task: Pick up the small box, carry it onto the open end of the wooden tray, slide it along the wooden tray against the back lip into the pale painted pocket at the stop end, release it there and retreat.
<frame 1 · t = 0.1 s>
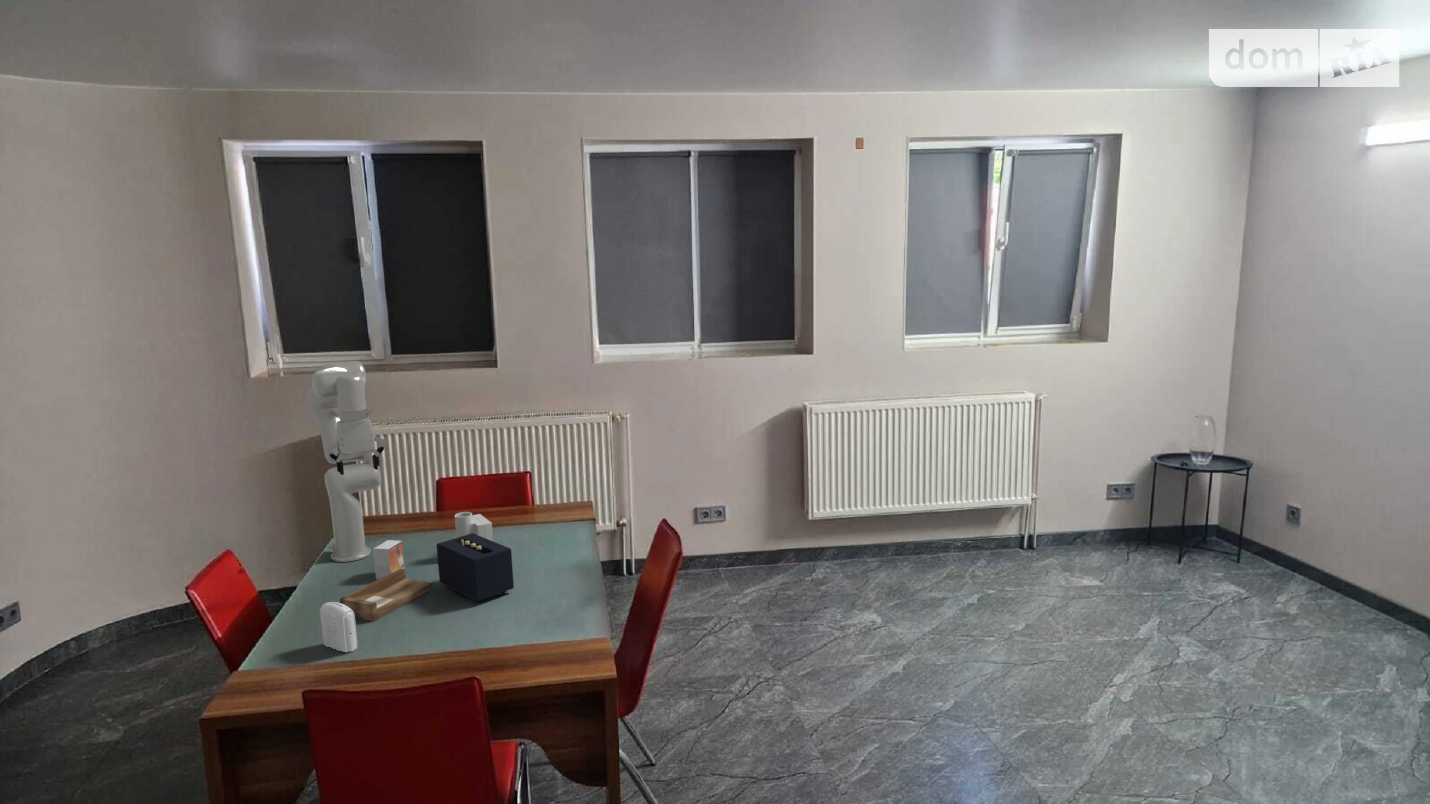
hand: (359, 471, 250), 37 cm above the table, tool pointing down, fingers open, 9 cm apart
wooden tray: (388, 601, 246), on the table
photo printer: (340, 648, 218), on the table
speaker: (476, 590, 253), on the table
small box: (390, 576, 266), on the table
white desk organizer: (468, 557, 281), on the table
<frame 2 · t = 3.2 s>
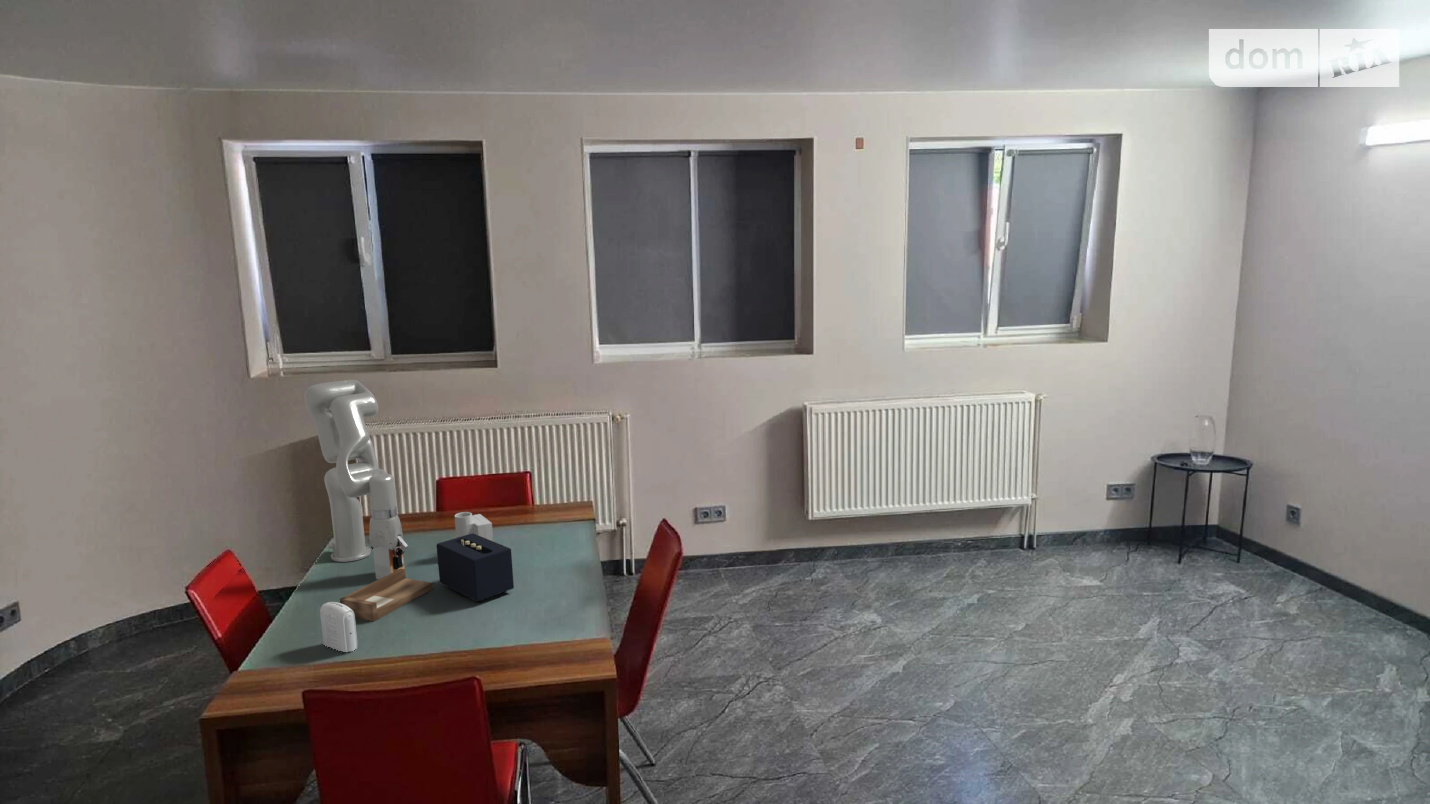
hand: (389, 566, 265), 3 cm above the table, tool pointing down, fingers closed on small box, 6 cm apart
small box: (390, 576, 266), on the table, touching gripper
everything else where it was.
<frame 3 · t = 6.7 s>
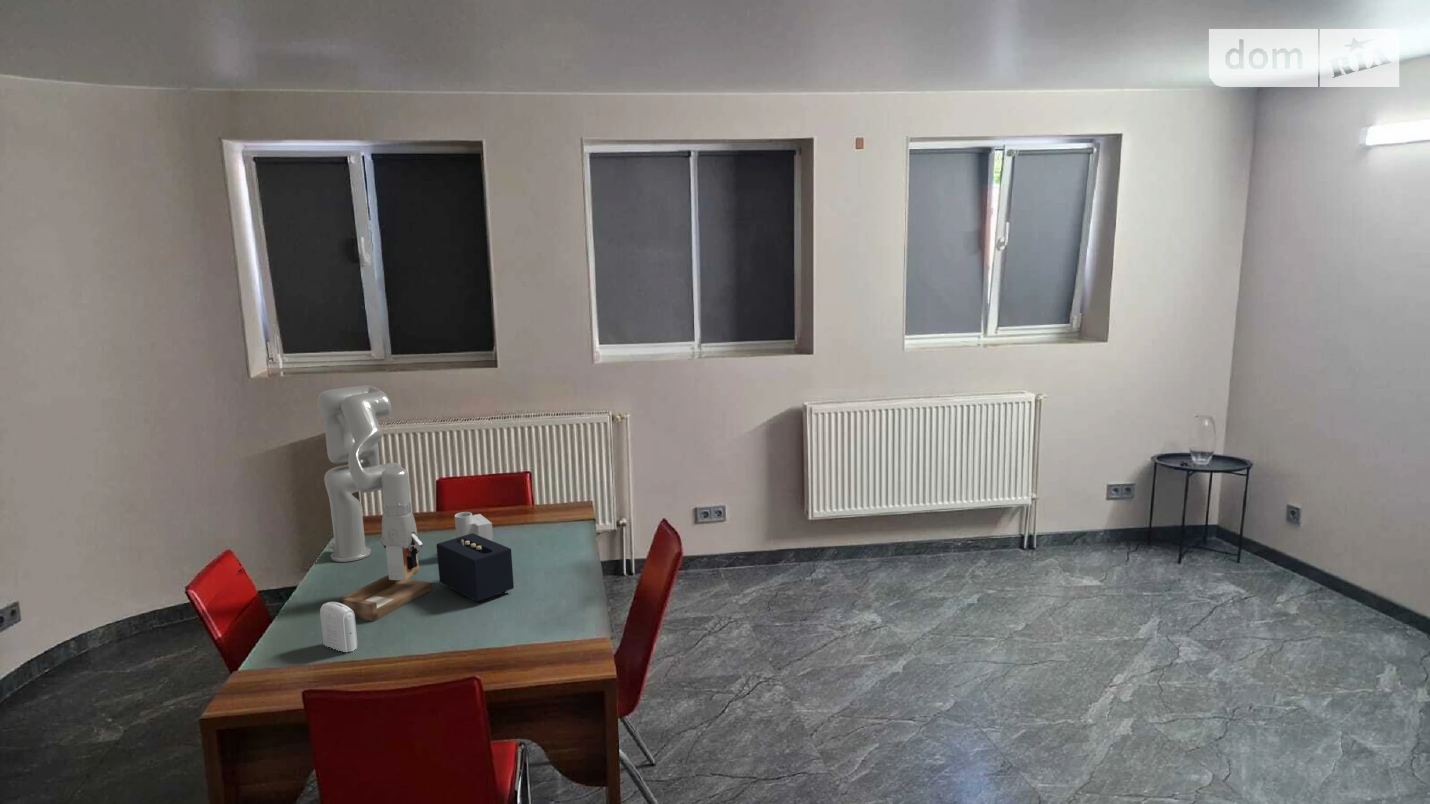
hand: (403, 565, 251), 9 cm above the table, tool pointing down, fingers closed on small box, 6 cm apart
small box: (404, 576, 251), point 5 cm above the table, touching gripper
everything else where it was.
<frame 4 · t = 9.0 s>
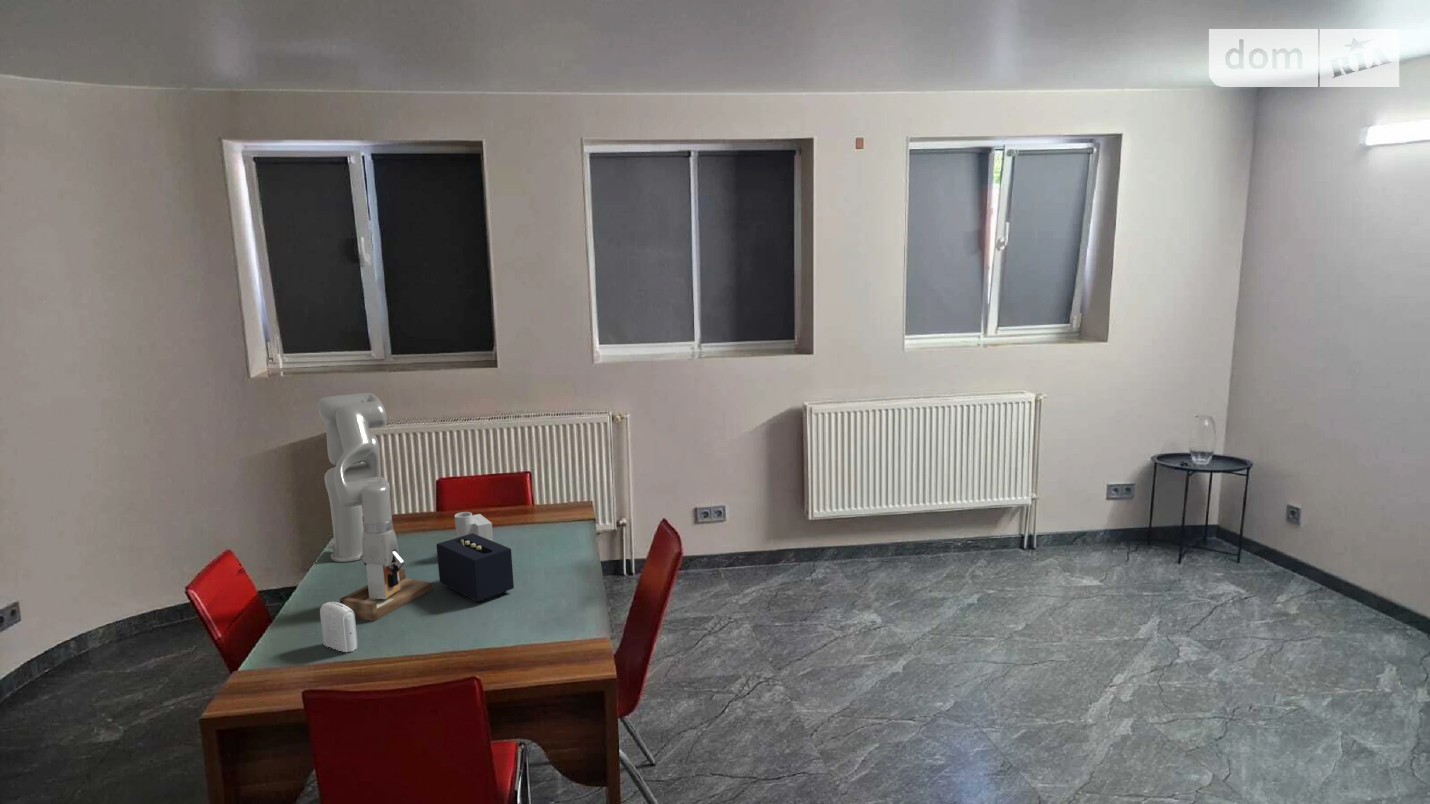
hand: (384, 583, 244), 6 cm above the table, tool pointing down, fingers closed on small box, 6 cm apart
small box: (385, 594, 245), point 3 cm above the table, touching gripper
everything else where it was.
when the fingers open (6 cm above the table, at t = 10.6 s): small box stays where it is, resting on wooden tray.
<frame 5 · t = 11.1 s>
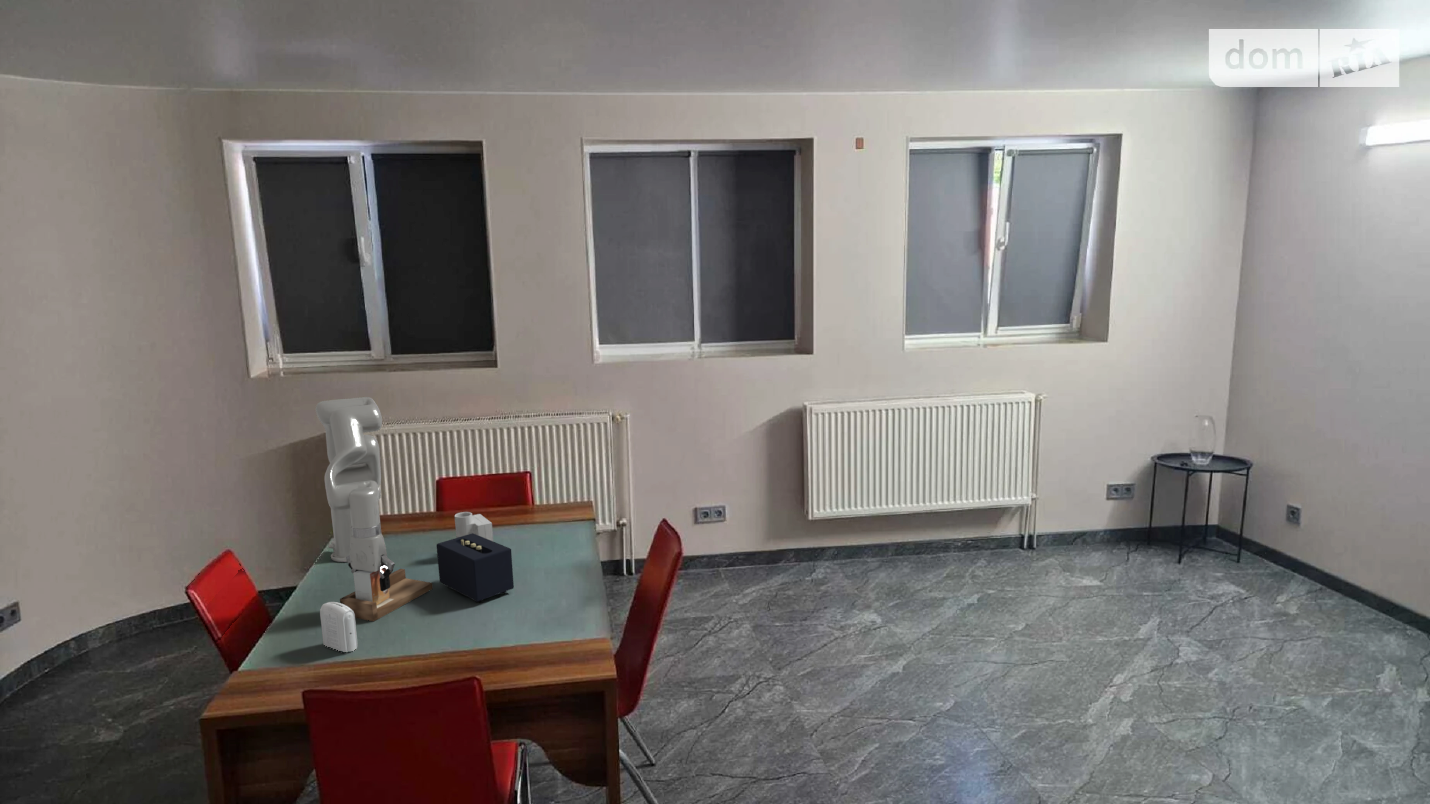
hand: (372, 587, 240), 7 cm above the table, tool pointing down, fingers open, 9 cm apart
small box: (373, 602, 241), point 2 cm above the table, touching wooden tray
everything else where it was.
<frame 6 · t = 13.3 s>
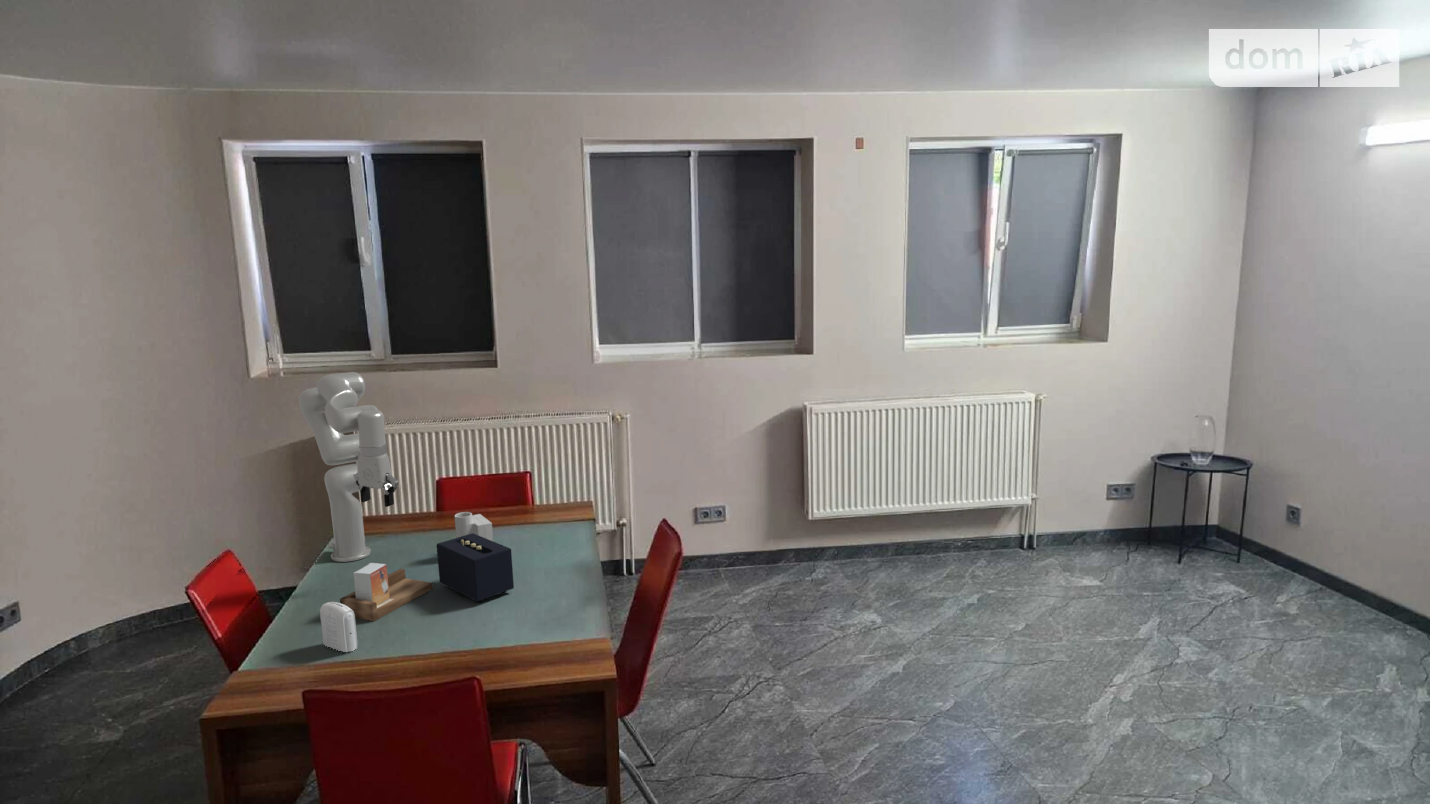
hand: (377, 503, 258), 25 cm above the table, tool pointing down, fingers open, 9 cm apart
nothing on the table moved.
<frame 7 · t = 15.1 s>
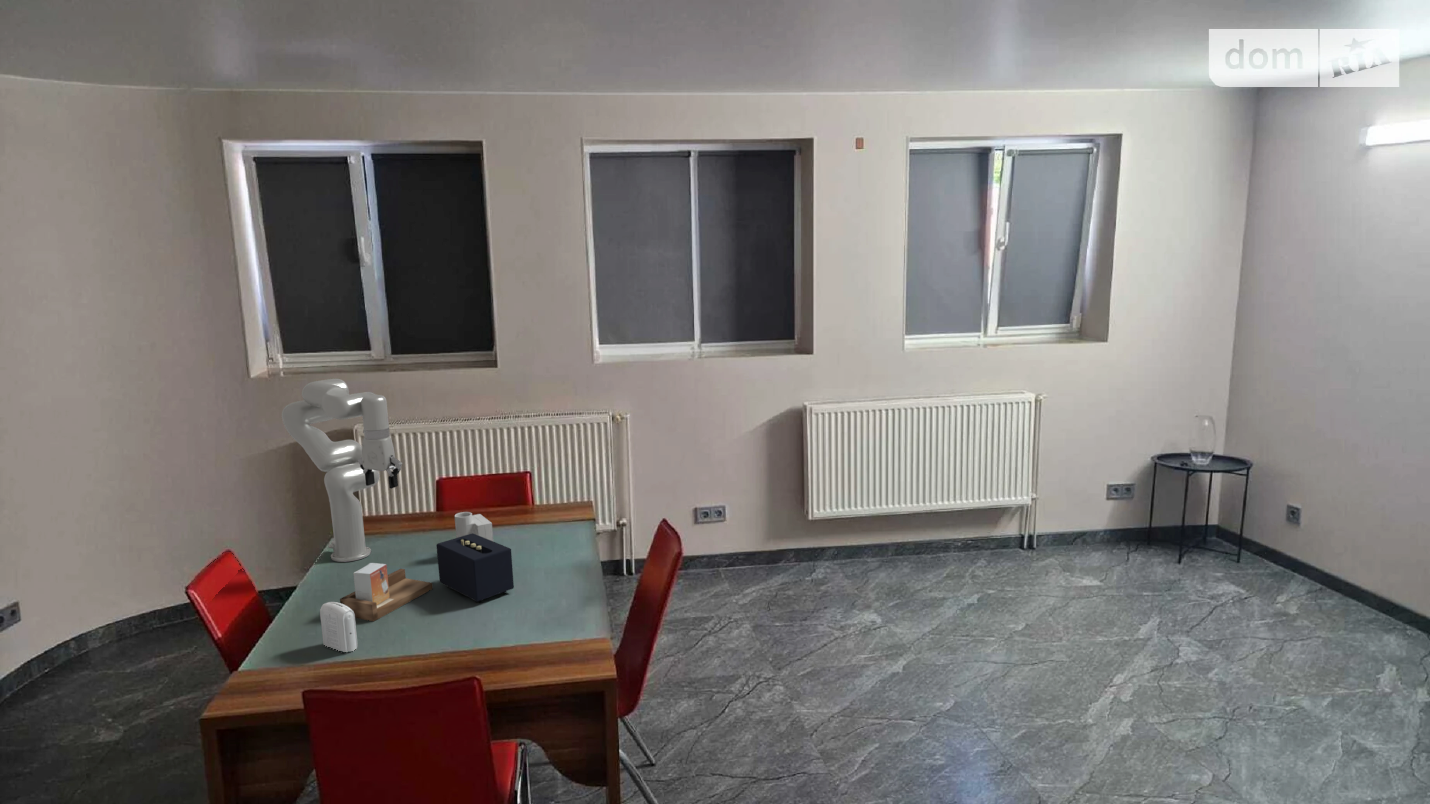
hand: (382, 486, 266), 28 cm above the table, tool pointing down, fingers open, 9 cm apart
nothing on the table moved.
at the end: small box inside the target area (0.3 cm from its centre), point 1.8 cm above the table; small box tilted 0°; the gripper is holding nothing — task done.
